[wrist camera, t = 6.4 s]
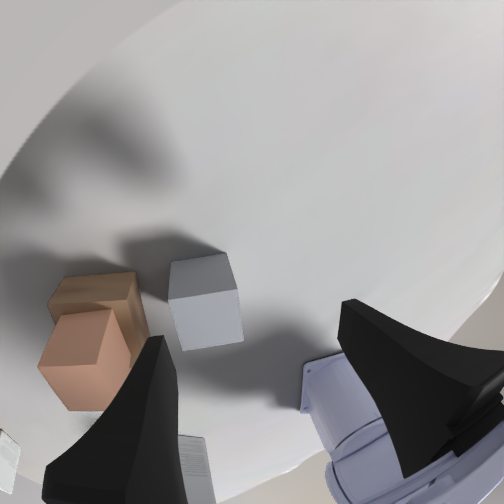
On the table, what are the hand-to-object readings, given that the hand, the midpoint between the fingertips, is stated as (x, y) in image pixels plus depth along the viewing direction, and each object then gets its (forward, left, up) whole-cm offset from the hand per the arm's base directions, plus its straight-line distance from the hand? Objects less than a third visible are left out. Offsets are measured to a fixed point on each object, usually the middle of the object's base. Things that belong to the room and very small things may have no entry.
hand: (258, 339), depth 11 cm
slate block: (-3, +2, -10) cm, 11 cm away
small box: (-28, +44, -11) cm, 53 cm away
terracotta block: (-4, +10, -7) cm, 13 cm away
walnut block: (-4, +10, -11) cm, 15 cm away
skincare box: (-27, +9, -11) cm, 30 cm away
